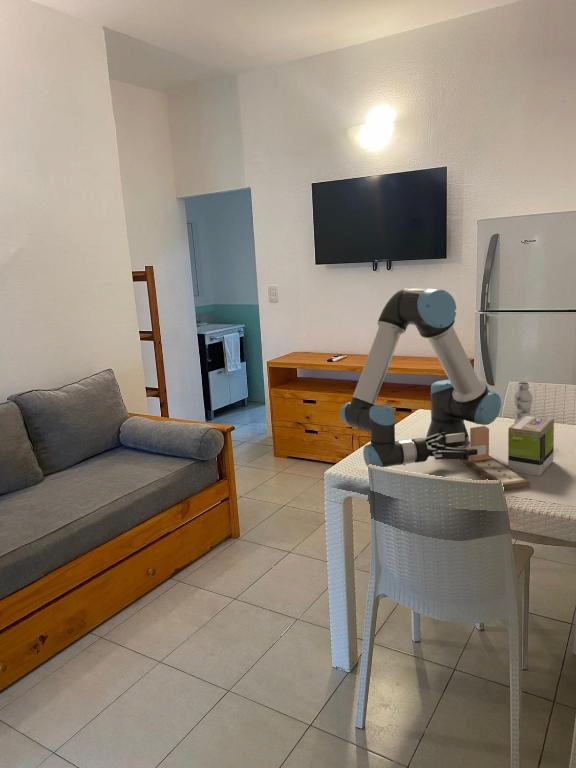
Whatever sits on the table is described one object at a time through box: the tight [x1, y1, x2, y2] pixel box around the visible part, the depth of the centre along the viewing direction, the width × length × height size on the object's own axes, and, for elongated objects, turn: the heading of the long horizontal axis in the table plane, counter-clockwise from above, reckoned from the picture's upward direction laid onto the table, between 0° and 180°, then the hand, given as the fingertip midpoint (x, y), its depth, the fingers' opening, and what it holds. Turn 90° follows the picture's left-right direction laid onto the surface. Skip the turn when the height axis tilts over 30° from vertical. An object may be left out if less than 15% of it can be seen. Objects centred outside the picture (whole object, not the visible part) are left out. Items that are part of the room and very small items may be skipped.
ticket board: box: [461, 457, 531, 492], centre depth 181 cm, size 24×9×2 cm, turn 11°
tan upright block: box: [468, 425, 493, 461], centre depth 188 cm, size 5×6×10 cm
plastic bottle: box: [513, 381, 533, 424], centre depth 213 cm, size 6×7×20 cm
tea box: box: [507, 415, 555, 477], centre depth 184 cm, size 15×10×15 cm, turn 141°
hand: (474, 442), depth 186 cm, fingers open, 13 cm apart
